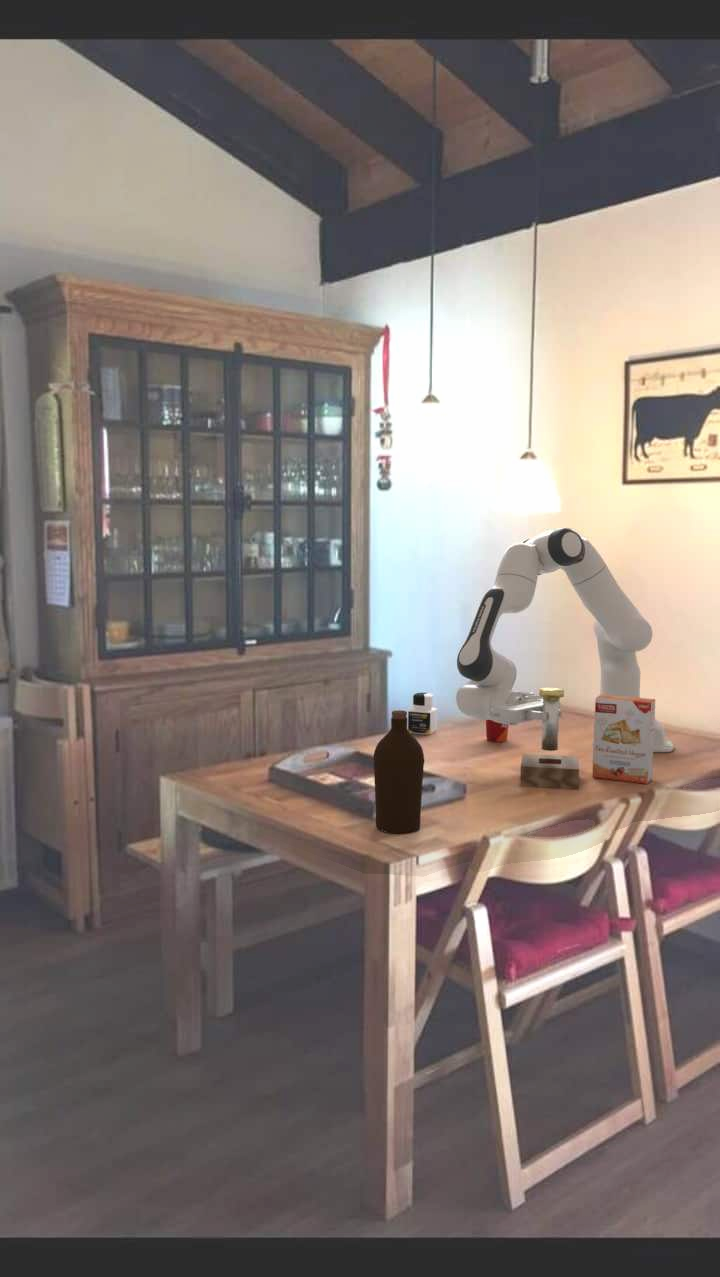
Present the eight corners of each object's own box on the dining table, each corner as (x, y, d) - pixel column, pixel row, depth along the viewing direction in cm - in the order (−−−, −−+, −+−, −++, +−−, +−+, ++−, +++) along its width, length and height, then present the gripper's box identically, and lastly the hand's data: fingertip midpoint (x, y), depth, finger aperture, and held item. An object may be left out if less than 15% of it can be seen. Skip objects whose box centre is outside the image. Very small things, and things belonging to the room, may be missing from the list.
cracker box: (591, 778, 264) (594, 696, 261) (597, 773, 269) (600, 693, 267) (647, 785, 257) (651, 701, 255) (652, 779, 263) (655, 698, 260)
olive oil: (396, 838, 213) (398, 718, 210) (362, 826, 221) (363, 710, 218) (433, 828, 220) (435, 712, 217) (398, 817, 228) (400, 705, 225)
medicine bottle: (407, 733, 317) (408, 694, 315) (415, 728, 323) (415, 690, 322) (429, 735, 314) (430, 696, 313) (437, 730, 321) (437, 692, 319)
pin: (561, 747, 262) (564, 688, 260) (561, 752, 256) (563, 692, 255) (537, 745, 263) (539, 687, 262) (537, 750, 257) (539, 691, 256)
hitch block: (577, 775, 266) (578, 756, 266) (578, 789, 253) (579, 769, 252) (522, 772, 269) (522, 753, 268) (520, 786, 255) (520, 766, 255)
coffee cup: (512, 742, 304) (513, 692, 303) (484, 742, 305) (485, 692, 303) (508, 736, 313) (510, 687, 311) (481, 736, 313) (482, 687, 311)
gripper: (484, 699, 261) (528, 707, 251) (533, 691, 275) (577, 698, 265) (483, 724, 261) (527, 733, 251) (532, 714, 275) (576, 722, 265)
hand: (553, 715), depth 258 cm, fingers closed on pin, 4 cm apart
